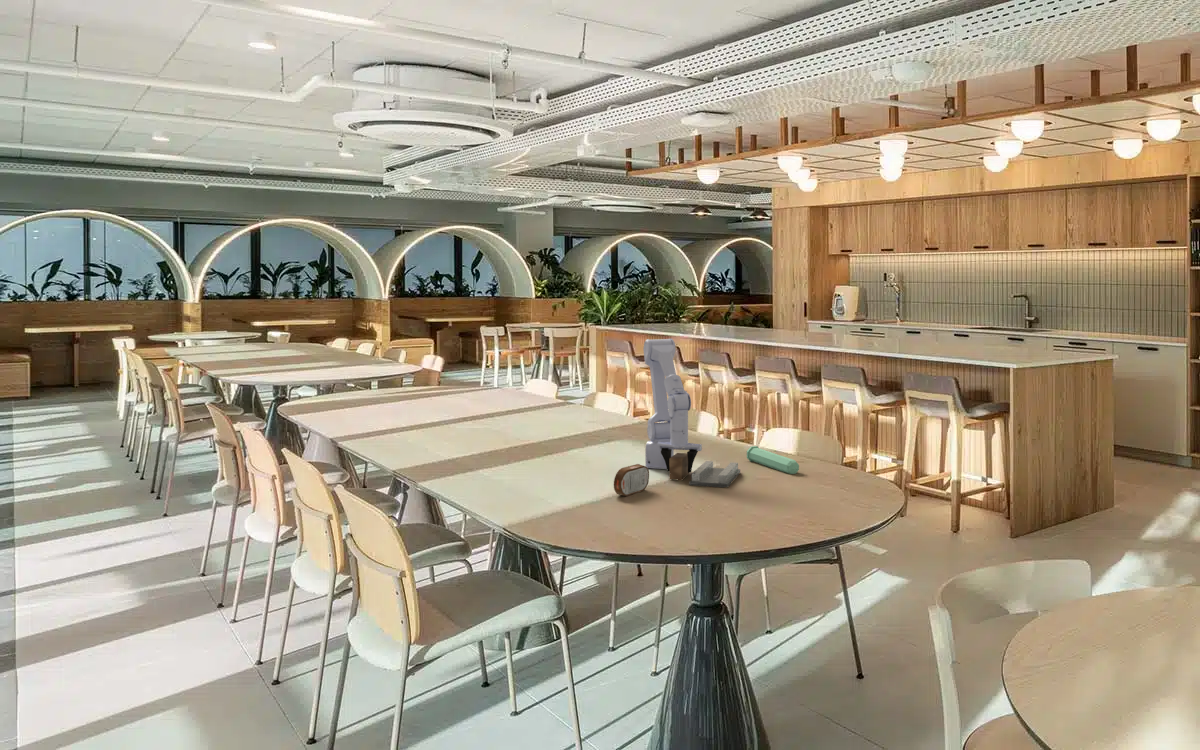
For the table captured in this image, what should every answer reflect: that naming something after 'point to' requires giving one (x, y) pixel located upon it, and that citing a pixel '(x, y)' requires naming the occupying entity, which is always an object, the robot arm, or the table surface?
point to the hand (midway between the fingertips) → (679, 471)
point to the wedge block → (678, 466)
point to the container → (772, 460)
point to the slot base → (714, 475)
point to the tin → (631, 480)
